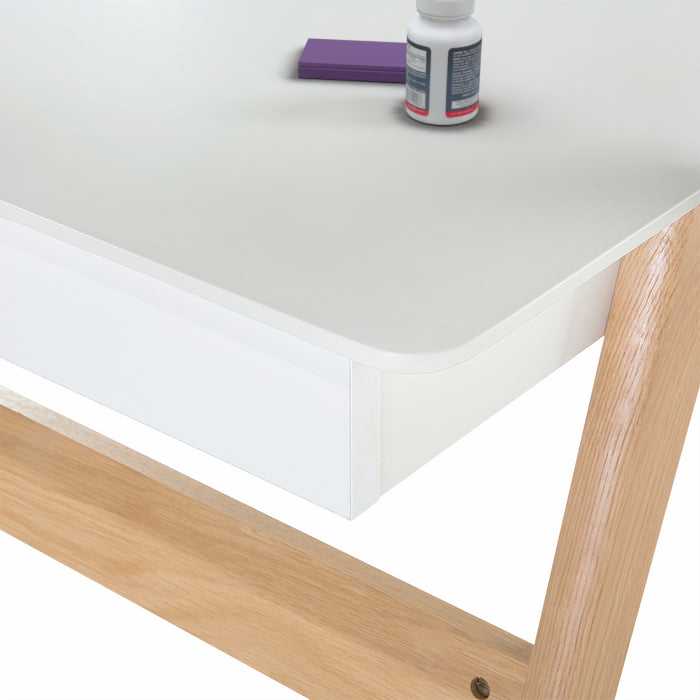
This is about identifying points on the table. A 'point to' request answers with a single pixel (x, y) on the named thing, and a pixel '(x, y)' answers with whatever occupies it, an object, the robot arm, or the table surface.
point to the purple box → (353, 60)
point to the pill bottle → (443, 62)
